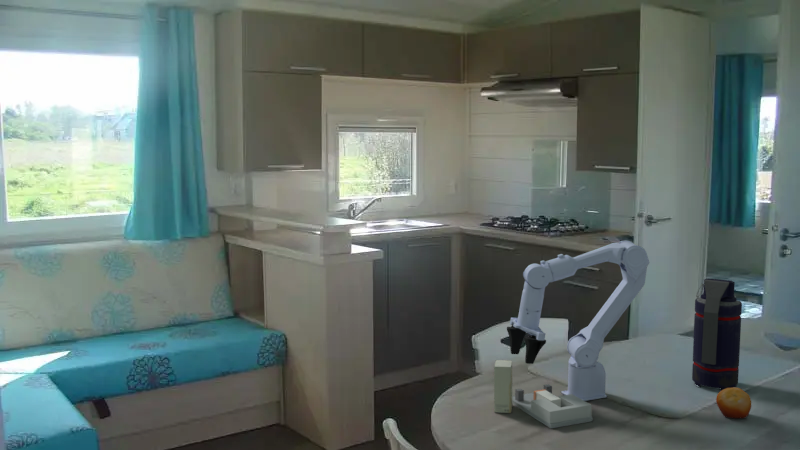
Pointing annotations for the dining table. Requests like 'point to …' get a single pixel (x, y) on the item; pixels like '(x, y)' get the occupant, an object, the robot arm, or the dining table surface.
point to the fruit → (734, 403)
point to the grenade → (716, 335)
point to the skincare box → (503, 386)
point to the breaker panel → (553, 408)
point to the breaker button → (547, 396)
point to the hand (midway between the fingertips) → (521, 358)
